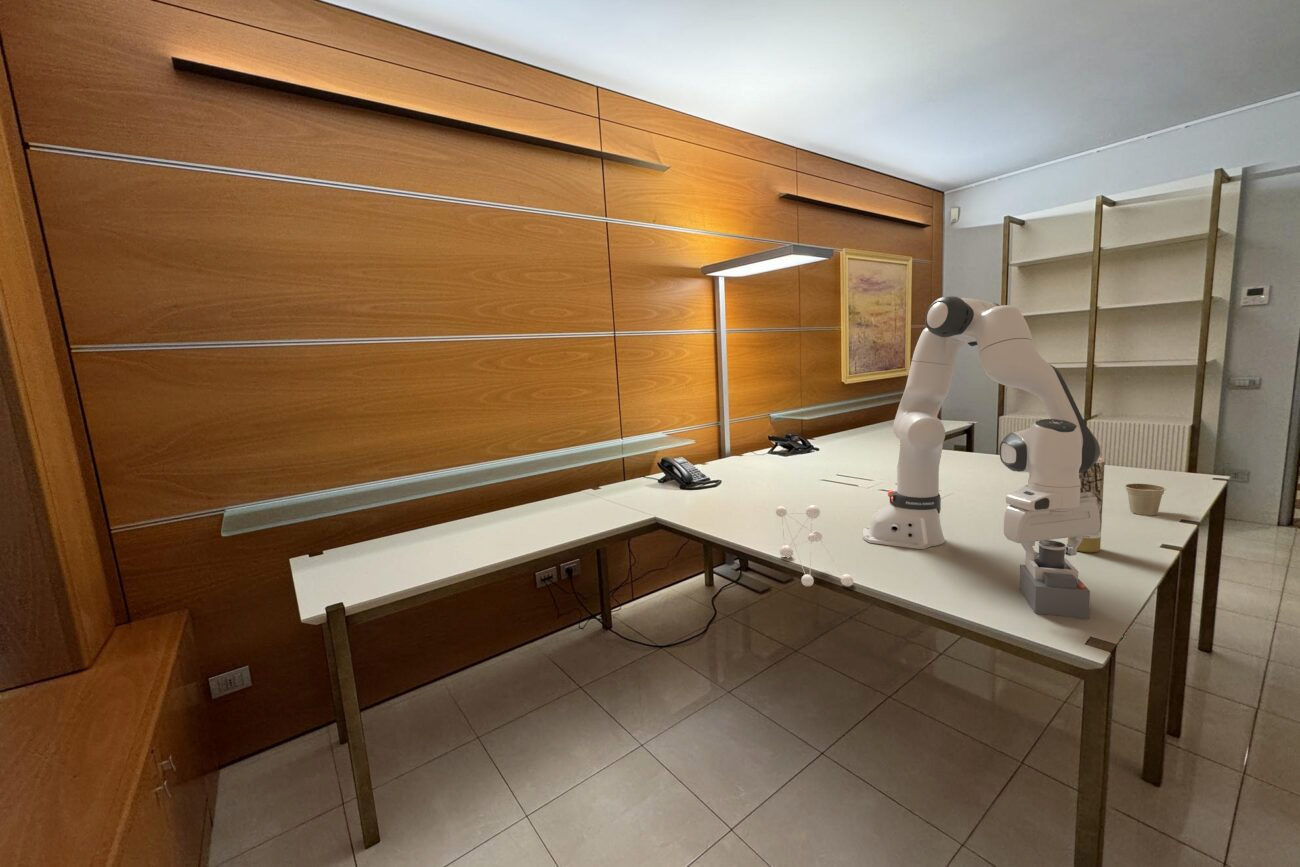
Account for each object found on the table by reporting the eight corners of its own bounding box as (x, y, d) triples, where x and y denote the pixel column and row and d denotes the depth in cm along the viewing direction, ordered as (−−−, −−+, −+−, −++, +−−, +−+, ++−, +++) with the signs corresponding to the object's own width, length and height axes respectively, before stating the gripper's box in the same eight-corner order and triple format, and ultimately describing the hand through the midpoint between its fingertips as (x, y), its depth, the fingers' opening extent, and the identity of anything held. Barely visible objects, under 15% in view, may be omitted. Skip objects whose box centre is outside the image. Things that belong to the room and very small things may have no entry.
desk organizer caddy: (1088, 618, 103) (1090, 579, 102) (1035, 613, 107) (1036, 575, 106) (1067, 593, 114) (1068, 557, 113) (1019, 589, 118) (1020, 554, 116)
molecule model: (804, 558, 149) (819, 500, 147) (851, 598, 125) (869, 529, 123) (760, 552, 146) (774, 493, 144) (799, 592, 122) (817, 521, 120)
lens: (1032, 571, 113) (1033, 541, 112) (1050, 568, 113) (1051, 539, 112) (1051, 580, 108) (1052, 548, 107) (1070, 577, 109) (1071, 546, 108)
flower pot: (1137, 518, 157) (1139, 490, 156) (1115, 509, 166) (1117, 483, 165) (1173, 517, 156) (1174, 490, 155) (1148, 508, 165) (1150, 482, 164)
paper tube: (1106, 553, 133) (1111, 460, 130) (1076, 553, 135) (1080, 461, 131) (1089, 544, 140) (1093, 455, 137) (1061, 544, 141) (1065, 456, 138)
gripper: (1082, 487, 113) (1079, 546, 115) (998, 496, 111) (997, 557, 112) (1111, 494, 107) (1107, 556, 108) (1023, 504, 104) (1021, 567, 106)
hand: (1050, 557), depth 110 cm, fingers open, 8 cm apart
